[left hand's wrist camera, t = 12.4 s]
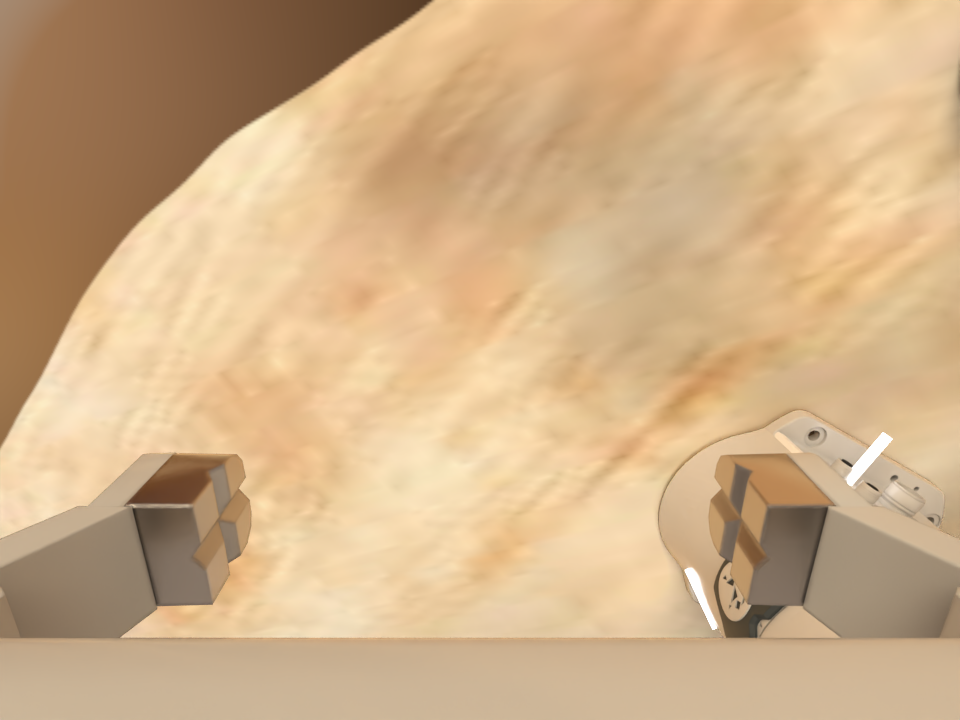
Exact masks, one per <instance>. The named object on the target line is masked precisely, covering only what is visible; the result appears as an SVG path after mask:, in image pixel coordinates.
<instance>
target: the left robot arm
mask: <svg viewBox="0 0 960 720" xmlns="http://www.w3.org/2000/svg"><path fill="white" fill-rule="evenodd" d="M812 431H814V433H813V434H812V435H811V436H808V435H809V433H810V432H812ZM891 440H892V438H890V437H889V436H888V435H886V434H885V433H882V434H881V435H880V437H879V438H878V439H877V440H876V441H875V442H874V444H873V445H872V446H871V447H869V446H867V445H865V444H864V443H862V442H860V441H859V440H857V439H855V438H853V437H852V436H850V435H848V434H846V433H845V432H843V431H841V430H839V429H838V428H836V427H834V426H832V425H831V424H829V423H827V422H825V421H824V420H822V419H820V418H818V417H817V416H815V415H813V414H811V413H810V412H808V411H805V410H796V411H792V412H790V413H788V414H786V415H784V416H782V417H780V418H779V419H777V420H775V421H774V422H772V423H770V424H769V425H767V426H766V427H764V428H762V429H759V430H756V431H753V432H748V433H744V434H740V435H736V436H732V437H729V438H726V439H723V440H721V441H718V442H716V443H714V444H712V445H710V446H708V447H707V448H705V449H703V450H702V451H700V452H699V453H697V454H696V455H694V456H693V457H692V458H691V459H690V460H688V461H687V462H686V463H685V464H684V465H683V466H682V467H681V468H680V469H679V470H678V472H677V473H676V474H675V475H674V477H673V478H672V480H671V481H670V483H669V485H668V486H667V488H666V490H665V492H664V495H663V498H662V501H661V505H660V510H659V528H660V533H661V537H662V539H663V542H664V544H665V546H666V548H667V549H668V551H669V552H670V554H671V555H672V556H673V557H674V559H675V560H676V561H677V563H678V564H679V565H680V567H681V568H682V570H683V575H684V580H685V585H686V588H687V590H688V592H689V594H690V595H691V597H692V598H693V600H694V601H695V602H697V603H700V604H701V606H702V608H703V610H704V612H705V614H706V616H707V618H708V620H709V623H710V625H711V627H712V629H716V626H717V627H718V629H719V630H720V632H721V634H722V635H723V637H724V638H120V637H121V636H122V635H124V634H125V633H126V632H128V631H129V630H130V629H132V628H133V627H134V626H135V625H137V624H138V623H139V622H141V621H142V620H143V619H145V618H146V617H147V616H149V615H150V614H151V613H153V612H154V611H155V610H156V609H157V606H179V605H213V603H214V601H215V600H216V598H217V596H218V594H219V593H220V591H221V589H222V587H223V586H224V584H225V582H226V580H227V579H228V577H229V575H230V571H229V566H228V563H229V562H231V561H233V560H234V559H236V558H237V557H239V556H240V555H241V554H242V552H243V550H244V548H245V546H246V545H247V542H248V538H249V534H250V530H251V506H250V500H249V499H248V498H247V497H246V496H245V495H244V494H243V493H242V492H241V490H240V489H239V487H240V485H241V484H242V482H243V481H244V479H245V478H246V476H245V471H244V466H243V461H242V459H241V458H240V457H239V456H238V455H237V454H196V453H179V454H178V453H149V454H143V455H142V456H141V457H140V458H138V459H137V460H136V461H135V462H134V463H133V464H132V465H131V466H130V467H129V468H128V469H127V470H126V471H125V472H124V473H123V474H121V475H120V476H119V477H118V478H117V479H116V480H115V481H114V482H113V483H112V484H111V485H110V486H109V487H108V488H107V489H105V490H104V491H103V492H102V493H101V494H100V495H99V496H98V497H97V498H96V499H95V500H94V501H93V502H92V503H91V504H90V505H88V506H77V507H75V508H73V509H70V510H68V511H65V512H63V513H61V514H58V515H56V516H54V517H51V518H49V519H46V520H44V521H42V522H39V523H37V524H35V525H32V526H30V527H27V528H25V529H23V530H20V531H18V532H16V533H13V534H11V535H8V536H6V537H4V538H1V539H0V720H960V539H959V538H956V537H954V536H951V535H949V534H947V533H944V532H942V531H940V530H939V527H940V524H941V521H942V517H943V513H944V506H945V496H944V494H943V492H942V491H941V490H940V489H939V488H938V487H937V486H936V485H934V484H933V483H931V482H930V481H928V480H926V479H925V478H923V477H921V476H920V475H918V474H916V473H914V472H913V471H911V470H909V469H907V468H906V467H904V466H902V465H900V464H899V463H897V462H895V461H893V460H892V459H890V458H888V457H886V456H885V455H883V454H881V452H882V450H883V449H884V448H885V447H886V446H887V445H888V444H889V442H890V441H891ZM712 619H713V620H712ZM713 621H714V622H713ZM714 623H715V624H716V626H715V624H714Z"/></svg>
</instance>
